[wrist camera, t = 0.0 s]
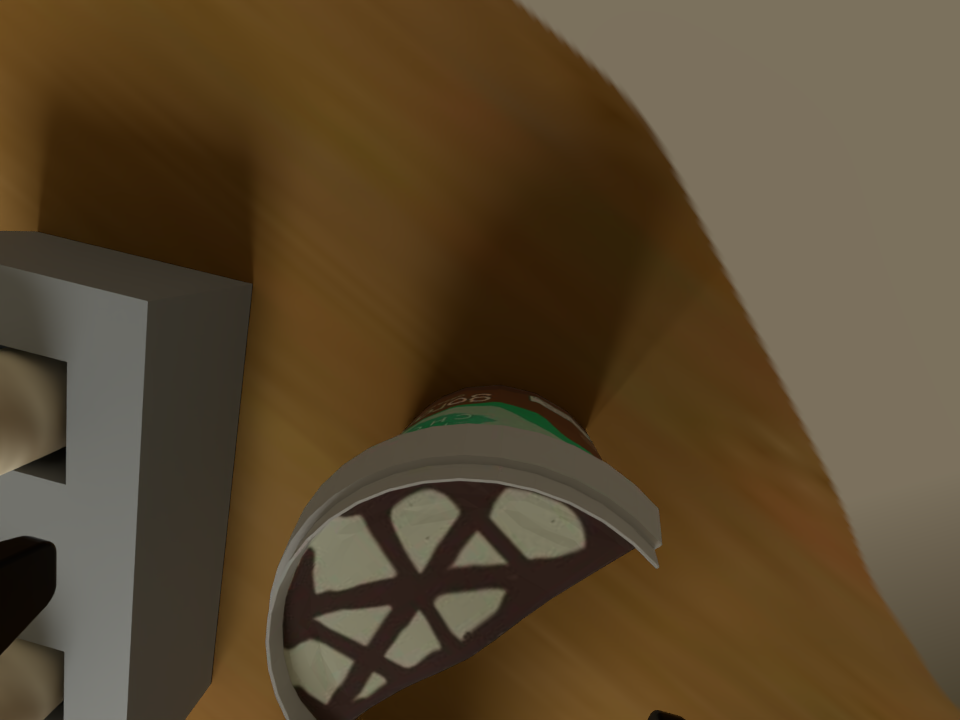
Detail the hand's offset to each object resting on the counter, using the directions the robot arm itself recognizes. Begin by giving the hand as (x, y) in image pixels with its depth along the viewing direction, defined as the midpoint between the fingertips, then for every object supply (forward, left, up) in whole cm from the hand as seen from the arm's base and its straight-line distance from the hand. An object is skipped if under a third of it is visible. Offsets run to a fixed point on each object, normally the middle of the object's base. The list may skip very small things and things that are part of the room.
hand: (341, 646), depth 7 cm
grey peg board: (-9, +15, -15) cm, 23 cm away
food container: (-3, 0, -15) cm, 15 cm away
